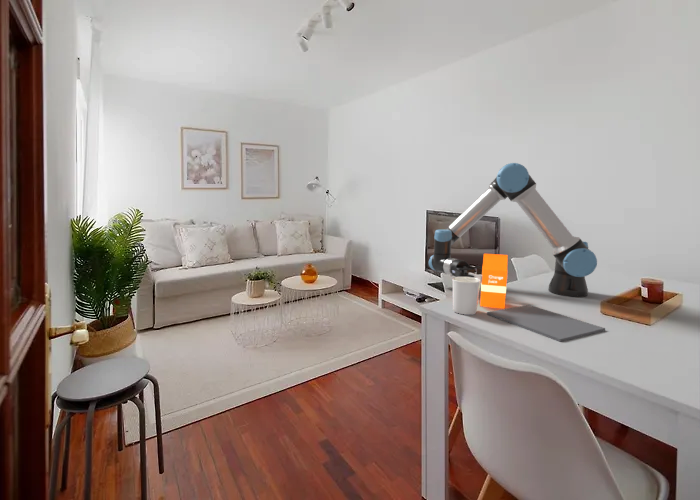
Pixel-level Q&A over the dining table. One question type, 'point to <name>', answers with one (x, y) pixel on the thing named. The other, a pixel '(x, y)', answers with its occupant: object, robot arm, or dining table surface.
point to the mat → (546, 322)
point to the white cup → (465, 295)
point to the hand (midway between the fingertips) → (494, 277)
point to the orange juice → (494, 281)
